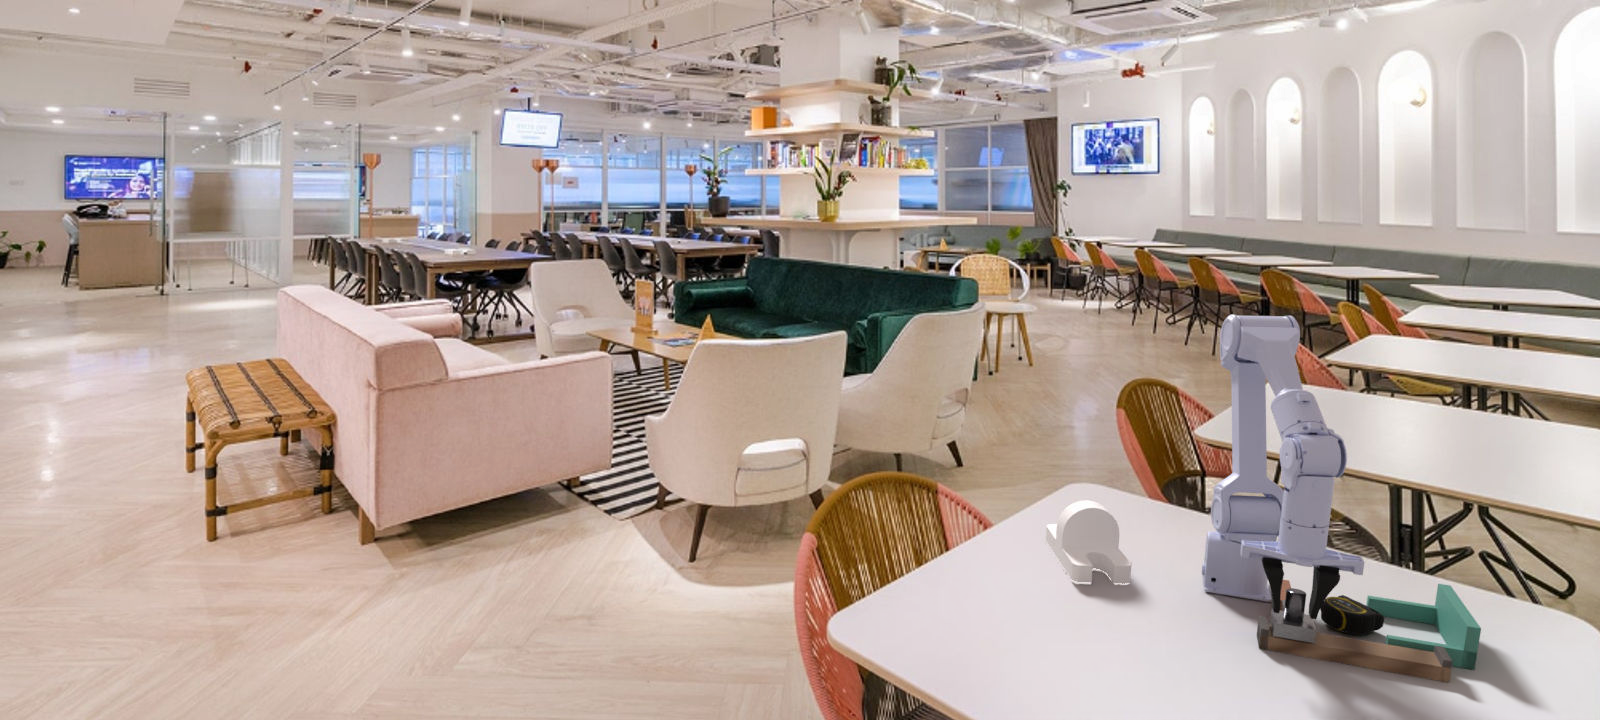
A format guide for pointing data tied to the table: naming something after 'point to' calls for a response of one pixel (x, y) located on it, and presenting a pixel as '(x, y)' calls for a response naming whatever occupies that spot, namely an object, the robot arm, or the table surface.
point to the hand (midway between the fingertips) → (1293, 612)
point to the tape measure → (1350, 616)
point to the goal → (1436, 624)
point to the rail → (1361, 653)
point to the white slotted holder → (1088, 543)
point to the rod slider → (1292, 616)
